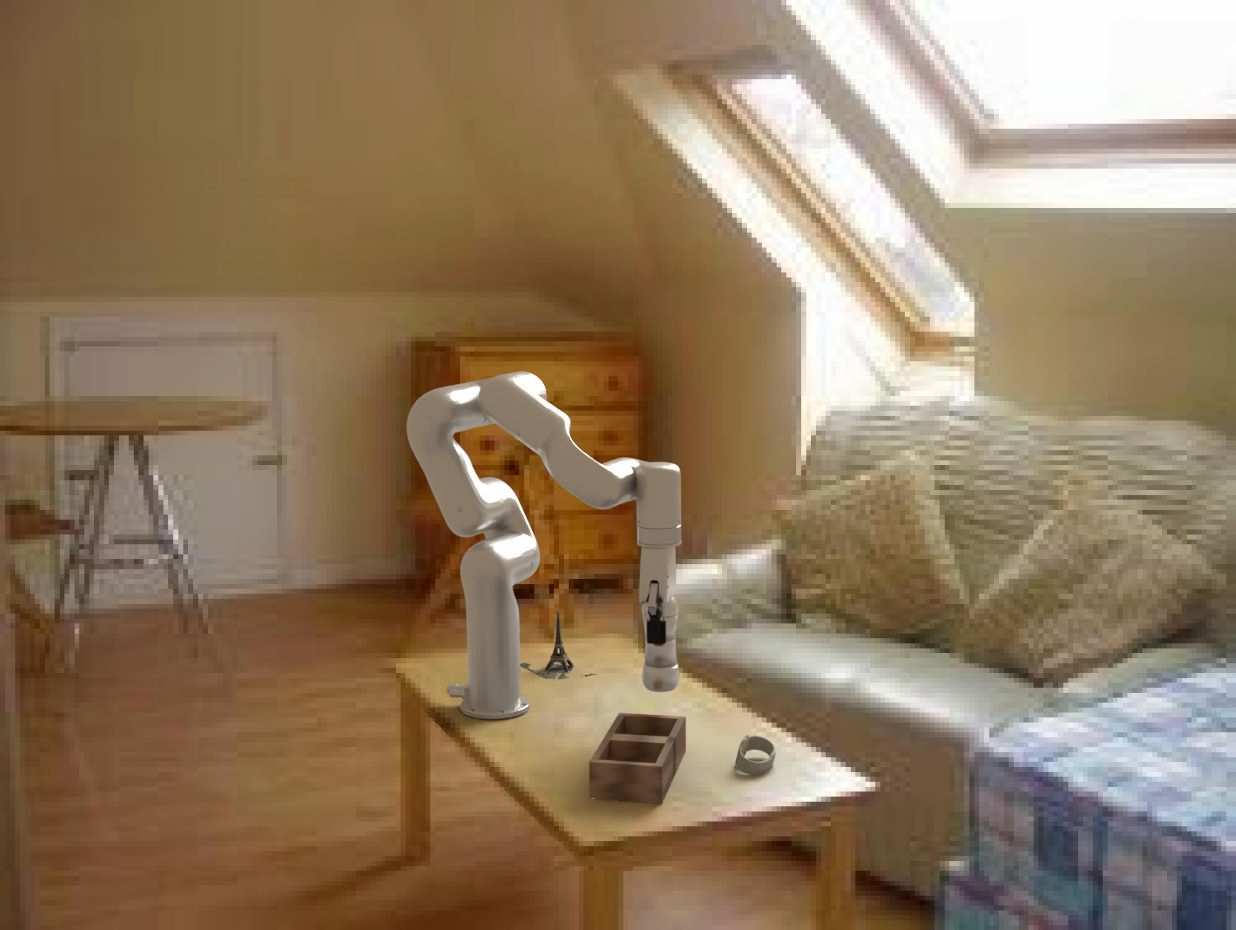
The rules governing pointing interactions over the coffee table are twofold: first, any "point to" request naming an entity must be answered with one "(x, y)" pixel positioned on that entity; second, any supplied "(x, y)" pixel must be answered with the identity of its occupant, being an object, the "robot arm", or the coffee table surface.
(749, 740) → the wristwatch
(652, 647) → the plastic bottle
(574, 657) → the coffee table surface
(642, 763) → the bottle rack
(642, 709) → the coffee table surface
